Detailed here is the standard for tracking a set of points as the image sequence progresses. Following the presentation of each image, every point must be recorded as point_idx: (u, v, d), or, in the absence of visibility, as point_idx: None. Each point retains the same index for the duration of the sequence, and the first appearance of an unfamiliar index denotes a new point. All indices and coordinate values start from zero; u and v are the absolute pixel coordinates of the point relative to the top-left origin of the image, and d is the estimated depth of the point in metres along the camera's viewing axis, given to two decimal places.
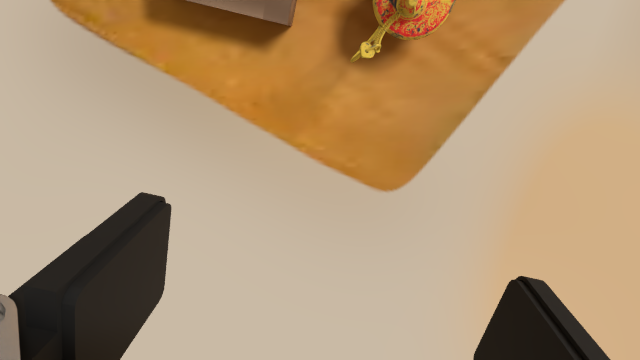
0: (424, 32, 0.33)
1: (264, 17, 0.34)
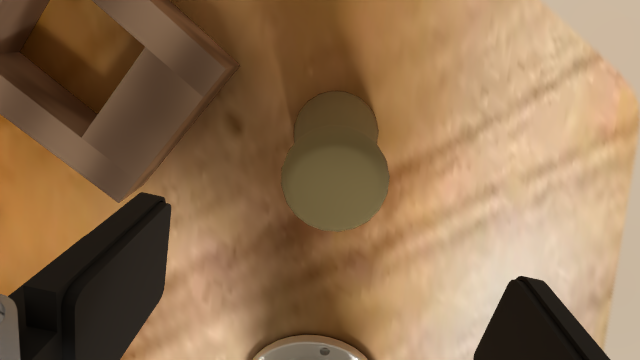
0: None
1: None
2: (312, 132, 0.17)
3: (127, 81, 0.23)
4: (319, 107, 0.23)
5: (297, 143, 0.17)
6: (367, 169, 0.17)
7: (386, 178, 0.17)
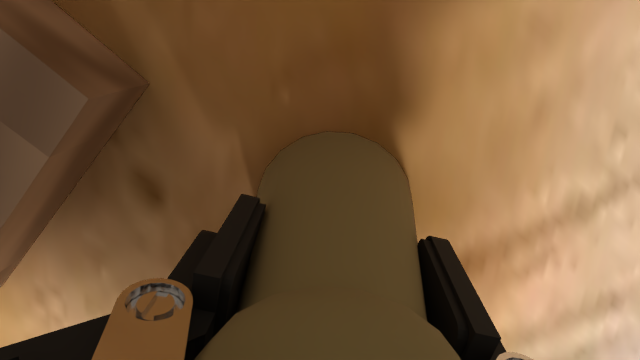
0: None
1: None
2: (249, 348, 0.05)
3: None
4: (298, 176, 0.11)
5: None
6: None
7: None
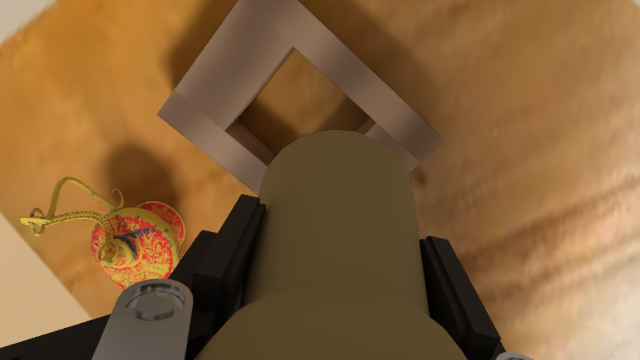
0: (92, 248, 0.29)
1: (175, 93, 0.26)
2: (253, 343, 0.05)
3: None
4: (300, 174, 0.11)
5: None
6: None
7: None
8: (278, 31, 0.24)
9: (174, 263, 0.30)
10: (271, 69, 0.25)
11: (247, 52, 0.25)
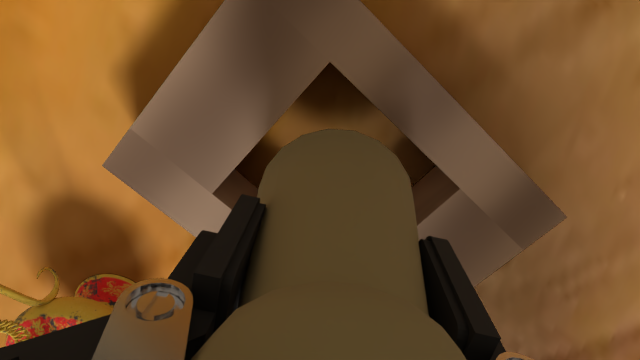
0: None
1: (131, 133, 0.16)
2: (250, 342, 0.05)
3: (422, 229, 0.17)
4: (299, 173, 0.11)
5: None
6: None
7: None
8: (307, 36, 0.14)
9: None
10: (292, 99, 0.15)
11: (252, 71, 0.15)
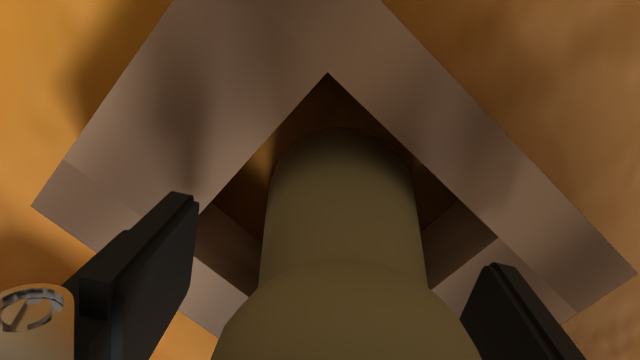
0: None
1: (65, 165, 0.12)
2: (281, 305, 0.06)
3: (447, 287, 0.13)
4: (310, 168, 0.12)
5: (238, 334, 0.06)
6: None
7: None
8: (296, 38, 0.10)
9: None
10: (277, 122, 0.11)
11: (223, 84, 0.11)
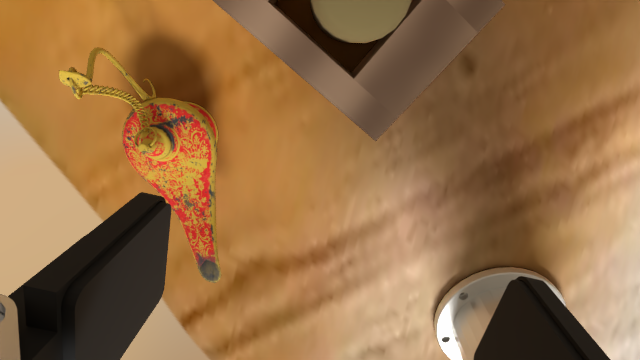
0: (124, 143, 0.27)
1: None
2: None
3: (409, 21, 0.25)
4: None
5: None
6: None
7: None
8: None
9: (212, 158, 0.28)
10: None
11: None
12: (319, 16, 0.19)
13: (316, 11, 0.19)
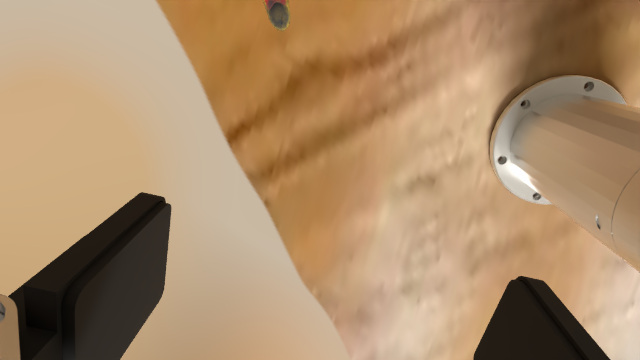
0: None
1: None
2: None
3: None
4: None
5: None
6: None
7: None
8: None
9: None
10: None
11: None
12: None
13: None
